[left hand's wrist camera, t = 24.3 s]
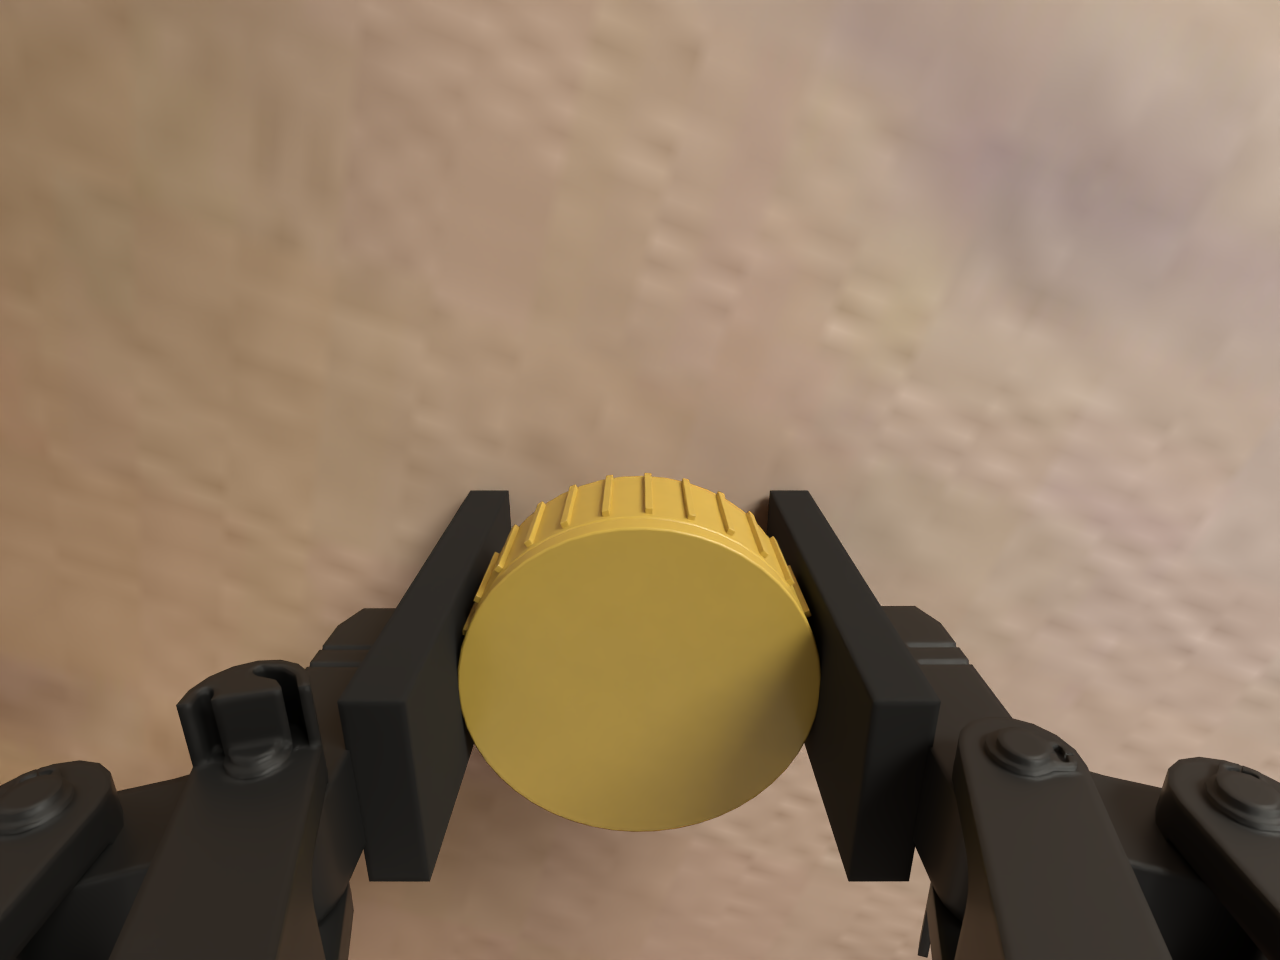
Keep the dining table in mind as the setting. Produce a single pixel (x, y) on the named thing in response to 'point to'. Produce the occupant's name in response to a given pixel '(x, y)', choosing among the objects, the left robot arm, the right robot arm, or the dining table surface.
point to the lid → (639, 657)
